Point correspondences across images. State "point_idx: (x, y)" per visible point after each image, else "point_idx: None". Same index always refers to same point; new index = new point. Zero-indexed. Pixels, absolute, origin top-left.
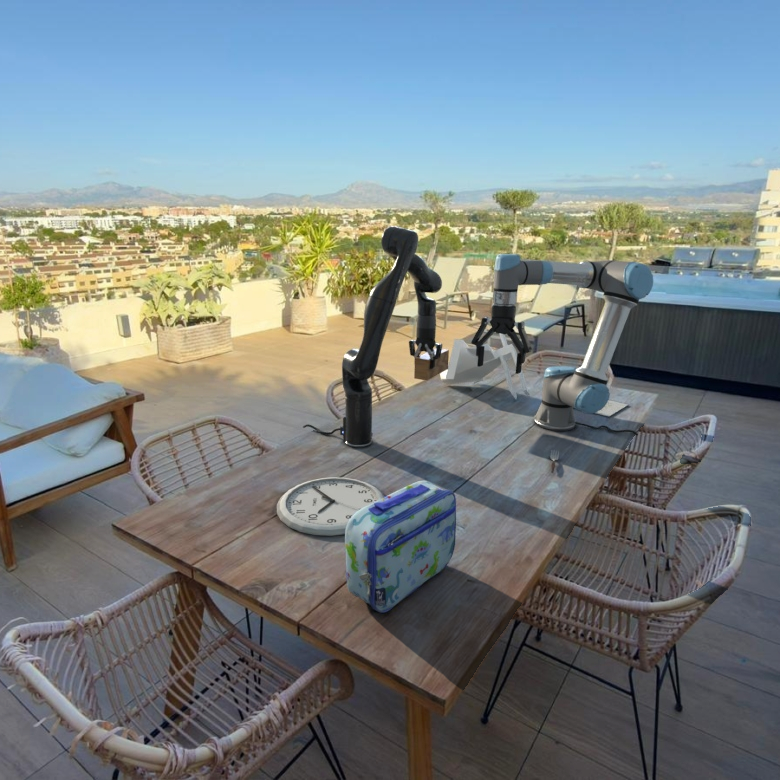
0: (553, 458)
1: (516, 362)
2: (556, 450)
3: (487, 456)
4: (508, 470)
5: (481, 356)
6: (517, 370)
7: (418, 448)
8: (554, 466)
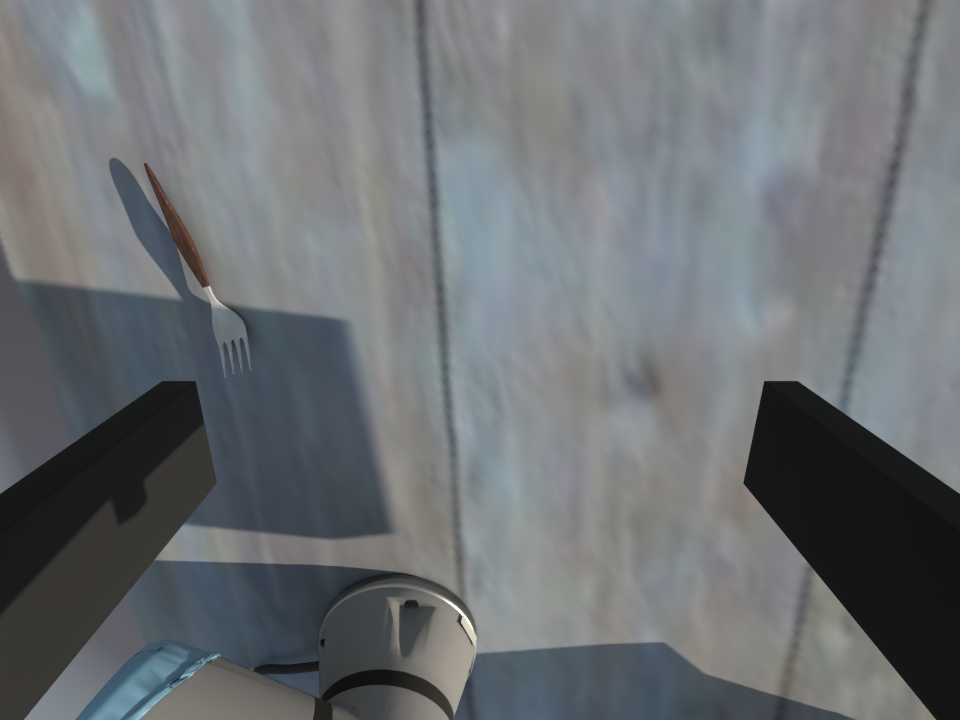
0: (228, 320)
1: (81, 467)
2: (232, 370)
3: (463, 162)
4: (312, 76)
5: (850, 510)
6: (138, 400)
7: (798, 11)
8: (170, 231)
